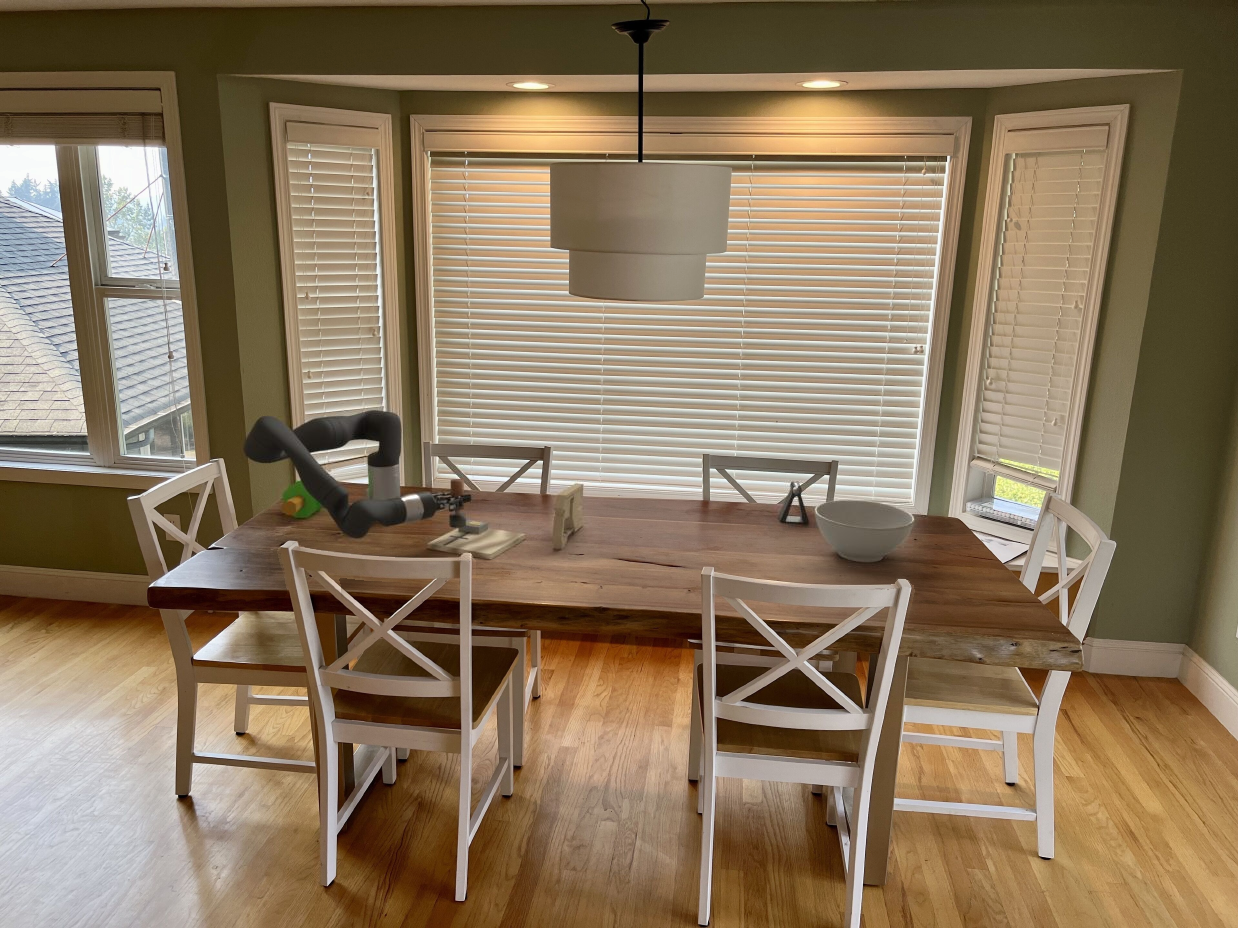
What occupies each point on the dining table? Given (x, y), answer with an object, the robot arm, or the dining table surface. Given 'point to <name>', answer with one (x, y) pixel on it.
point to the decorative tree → (299, 501)
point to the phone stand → (787, 505)
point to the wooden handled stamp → (459, 518)
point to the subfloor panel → (477, 542)
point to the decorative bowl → (863, 528)
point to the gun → (567, 514)
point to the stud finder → (474, 526)
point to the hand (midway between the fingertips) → (465, 496)
